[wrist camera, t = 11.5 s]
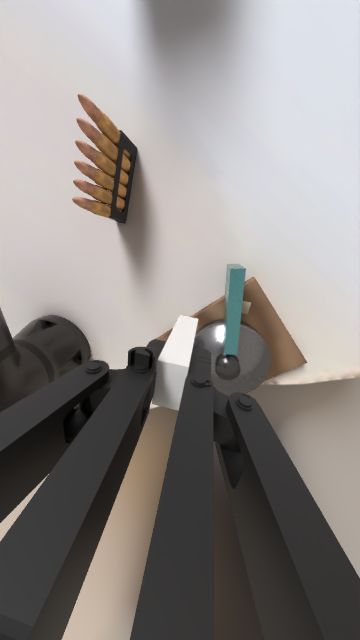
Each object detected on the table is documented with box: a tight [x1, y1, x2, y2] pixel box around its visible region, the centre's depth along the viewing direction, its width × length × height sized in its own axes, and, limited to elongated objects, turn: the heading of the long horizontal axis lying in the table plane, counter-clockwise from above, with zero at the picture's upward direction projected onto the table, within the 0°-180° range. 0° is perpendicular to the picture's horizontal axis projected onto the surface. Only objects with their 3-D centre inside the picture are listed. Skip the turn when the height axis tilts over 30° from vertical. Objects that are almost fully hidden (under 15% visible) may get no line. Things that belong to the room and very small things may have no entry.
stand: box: [156, 277, 307, 381], centre depth 36 cm, size 22×18×2 cm
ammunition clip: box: [72, 94, 137, 224], centre depth 25 cm, size 11×2×12 cm, turn 163°
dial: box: [193, 264, 271, 396], centre depth 30 cm, size 23×14×7 cm, turn 1°
